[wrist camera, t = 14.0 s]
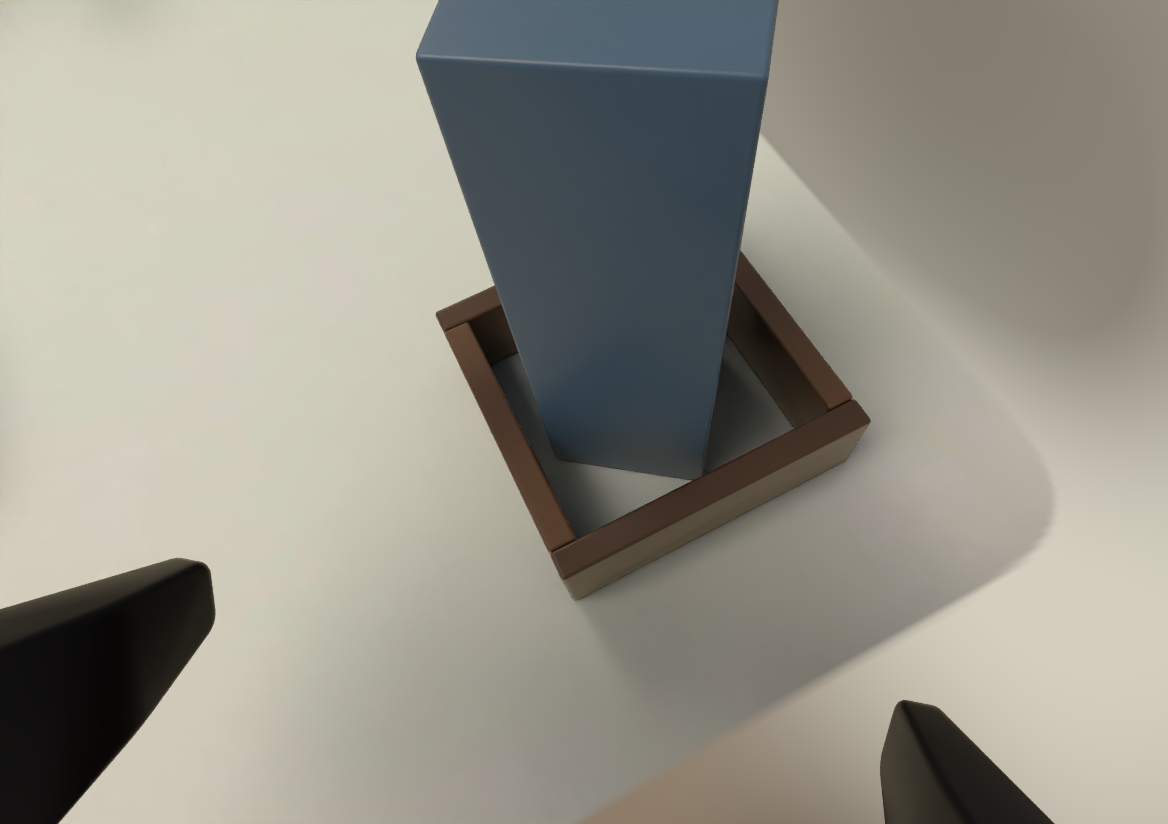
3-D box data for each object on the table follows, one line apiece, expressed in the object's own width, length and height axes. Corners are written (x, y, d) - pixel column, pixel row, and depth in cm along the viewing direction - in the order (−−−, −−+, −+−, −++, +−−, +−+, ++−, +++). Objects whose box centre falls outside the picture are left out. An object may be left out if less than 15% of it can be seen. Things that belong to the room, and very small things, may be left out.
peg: (701, 482, 19) (769, 76, 7) (554, 459, 19) (411, 55, 8) (719, 352, 20) (797, -142, 9) (583, 335, 21) (498, -145, 10)
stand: (846, 460, 18) (873, 420, 16) (574, 602, 18) (561, 580, 15) (693, 249, 22) (697, 192, 20) (457, 358, 21) (433, 311, 19)
